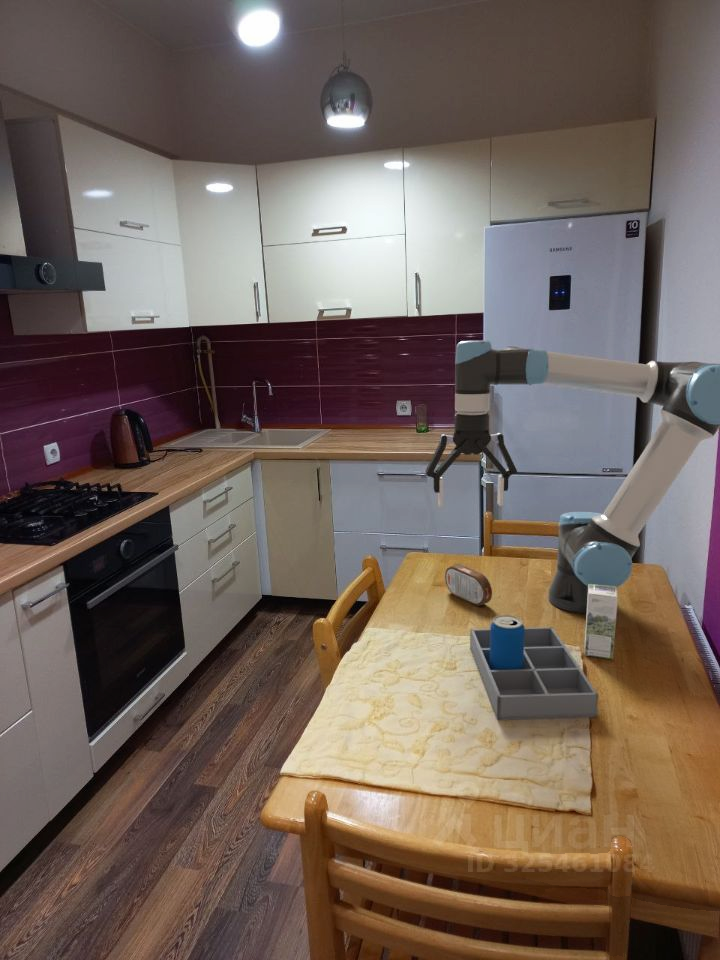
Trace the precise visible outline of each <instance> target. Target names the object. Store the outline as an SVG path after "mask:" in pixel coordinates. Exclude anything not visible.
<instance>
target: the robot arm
mask: <svg viewBox="0 0 720 960" xmlns="http://www.w3.org/2000/svg"><path fill="white" fill-rule="evenodd" d="M454 367H455V369H454V374H455V375H454V377H455V379H454V389H455V390H454V391H455V392H454V410H455V411H456V413H455V414H454V433H453V435H447V434H445V433H440V437H439V443H438V445H437V447H436V449H435V451H434V453H433V456H432V457H431V459H430V461H429V463H428V465H427V467H426V469H425V474H426V476H427V477H430V478H433V491H434V493H437V505H438V507H439V508H440V509H441V508H444V479H443V477H442V476H443V475H444V473H445V472H446V471H448V469H449V467H451V465H452V464H454V462H455V460H456V459H458V457H460V456H461V455H462V454H463V455H466V456H468V455H476V456H477V455H480V454H481V453H483V454H484V455H485V456H486V458H488V460H489V461H490V462H491V464H493V466H494V467H495V468H496V469H497V470H498V472H499V473H500V474H501V475H497V498H496V499H497V501H496V502H497V503H496V504H497V505H499V507H503V506H504V492H508V490H509V478H510V476H513V475H517V473H518V469H517V468H516V466H515V463H514V462H513V459H512V458H511V455H510V453H509V450H508V449H507V447H506V445H505V439H504V435H503V434H502V433H501V432H496V433H495V434H490V414H489V413H488V412H489V411H490V401H491V400H490V399H491V396H490V393H491V389H490V388H491V386H493V385H494V386H497V385H508V386H509V385H518V386H519V385H520V386H521V385H529V386H532V385H546V386H547V385H548V386H555V387H561V388H567V389H568V388H569V389H578V390H584V391H591V392H597V393H604V394H605V393H606V394H614V395H621V396H625V397H626V396H627V397H634V398H639V400H640V401H641V402H642V403H647V404H653V405H657V406H661V410H660V414H661V417H662V422H661V423H660V425H659V426H658V428H657V429H656V431H655V432H654V434H653V435H652V437H651V438H650V440H649V442H648V443H647V445H645V448H644V449H643V451H642V453H641V454H640V456H639V458H637V460H636V462H635V464H634V465H633V467H632V468H631V470H630V471H629V472H628V474H627V476H626V478H625V479H624V480H623V482H622V484H621V485H620V487H619V488H618V490H617V491H616V493H615V495H614V496H613V497H612V499H611V501H610V502H609V503H608V506H607V507H606V508H605V510H604V512H603V513H600V512H593V511H570V512H565V513H563V514H561V515H560V517H559V523H558V525H557V526H558V540H557V544H558V545H557V561H556V562H557V563H556V571H555V573H554V576H553V579H552V581H551V583H550V586H549V588H548V597H547V599H548V601H549V603H551V605H554V606H555V607H557V608H559V609H561V610H563V611H568V612H573V613H580V614H586V613H587V598H588V585H589V584H597V585H607V586H616V588H620V586H622V585H623V584H625V582H627V580H628V579H629V578H630V577H631V574H632V571H633V561H632V558H633V557H634V555H635V553H636V552H638V549H639V547H640V545H641V543H640V538H639V535H640V532H641V531H642V529H643V528H644V526H646V523H647V522H648V520H649V519H650V518H651V517H652V515H653V513H654V511H656V509H657V507H658V506H659V504H660V502H661V501H662V500H663V498H664V497H665V495H666V494H667V493H668V491H669V489H670V488H671V486H672V484H673V483H674V482H675V480H676V479H677V478H678V475H679V474H680V473H681V471H682V470H683V468H684V467H685V466H686V464H687V462H688V460H689V459H690V458H691V456H692V455H693V454H694V451H696V449H697V447H698V446H699V445H700V443H701V442H702V441H704V440H709V439H711V438H713V437H714V436H715V434H716V433H717V432H718V430H719V429H720V363H706V362H699V361H678V362H676V361H656V360H650V361H649V362H647V363H646V364H644V363H639V362H638V363H637V362H636V363H635V362H630V361H622V360H614V359H607V358H599V357H598V358H597V357H592V356H583V355H575V354H568V353H567V354H566V353H559V352H553V351H552V352H551V351H547V350H546V349H543V348H520V347H517V346H508V347H504V348H503V349H494V348H493V347H492V343H491V341H490V340H461V341H460V342H458V343H457V344H456V346H455V361H454ZM491 441H492V442H493V443H494V444H496V446H497V448H498V451H499V452H500V454H501V457H502V459H503V460H504V462H505V465H506V466H507V469H506V468H505V467H504V466H503V464H502V463H500V461H499V460H498V459H497V458H496V457H495V455H493V453H492V452H491V451H490V449H489V448H488V445H489V444H490V443H491ZM451 442H453V444H455V446H454V448H452V450H451V452H450V453H449V454H448V456H447V457H446V458H444V460H443V461H442V463H441V464H440V465H439V466H438V467H437V465H438V464H439V462H440V460H441V457H442V456H443V454H444V452H445V450H446V447H447V446H448V445H450V443H451Z"/></svg>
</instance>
